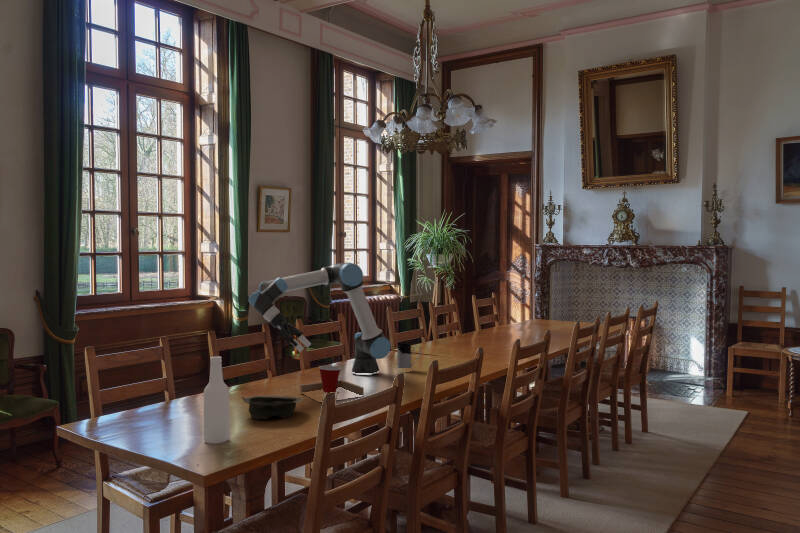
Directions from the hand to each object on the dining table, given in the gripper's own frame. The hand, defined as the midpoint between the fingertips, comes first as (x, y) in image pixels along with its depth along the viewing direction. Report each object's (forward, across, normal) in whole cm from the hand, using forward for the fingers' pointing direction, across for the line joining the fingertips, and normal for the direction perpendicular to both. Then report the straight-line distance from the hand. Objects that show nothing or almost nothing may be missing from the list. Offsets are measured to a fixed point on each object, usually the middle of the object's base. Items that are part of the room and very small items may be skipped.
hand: (305, 348), depth 308 cm
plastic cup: (+23, +6, -5) cm, 25 cm away
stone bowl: (+13, +46, -16) cm, 51 cm away
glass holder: (+47, -56, +15) cm, 75 cm away
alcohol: (+6, +83, -22) cm, 86 cm away
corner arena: (+25, +9, -5) cm, 27 cm away
